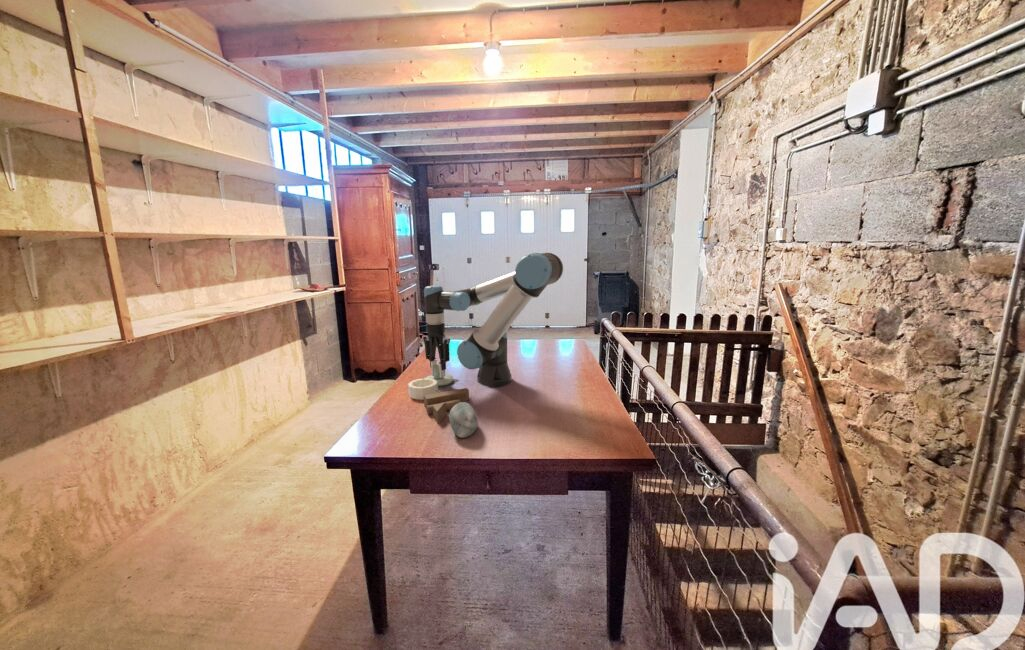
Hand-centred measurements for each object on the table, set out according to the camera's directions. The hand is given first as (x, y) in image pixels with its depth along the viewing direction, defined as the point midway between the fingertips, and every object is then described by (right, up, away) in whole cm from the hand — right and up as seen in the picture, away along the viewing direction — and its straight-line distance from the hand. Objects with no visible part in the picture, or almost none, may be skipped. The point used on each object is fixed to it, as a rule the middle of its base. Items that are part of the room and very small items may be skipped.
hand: (438, 376), depth 166 cm
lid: (0, -2, +1) cm, 2 cm away
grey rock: (+16, -12, -42) cm, 46 cm away
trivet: (0, -3, +1) cm, 3 cm away
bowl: (-4, -6, -12) cm, 14 cm away
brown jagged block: (+10, -9, -26) cm, 29 cm away
